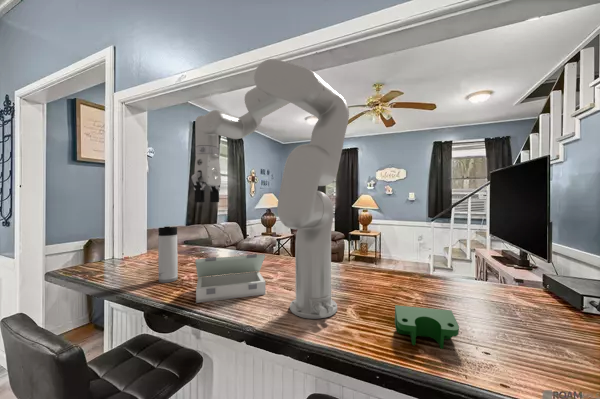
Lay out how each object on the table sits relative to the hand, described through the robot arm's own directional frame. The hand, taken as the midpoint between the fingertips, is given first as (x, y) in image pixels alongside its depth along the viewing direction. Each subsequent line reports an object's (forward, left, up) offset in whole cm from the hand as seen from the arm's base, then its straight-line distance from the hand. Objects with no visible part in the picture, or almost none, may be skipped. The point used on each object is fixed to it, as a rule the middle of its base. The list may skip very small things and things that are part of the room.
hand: (207, 202), depth 90 cm
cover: (-9, -7, -21) cm, 24 cm away
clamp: (-53, -43, -29) cm, 74 cm away
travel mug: (+10, +14, -29) cm, 34 cm away
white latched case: (-10, -7, -29) cm, 31 cm away
